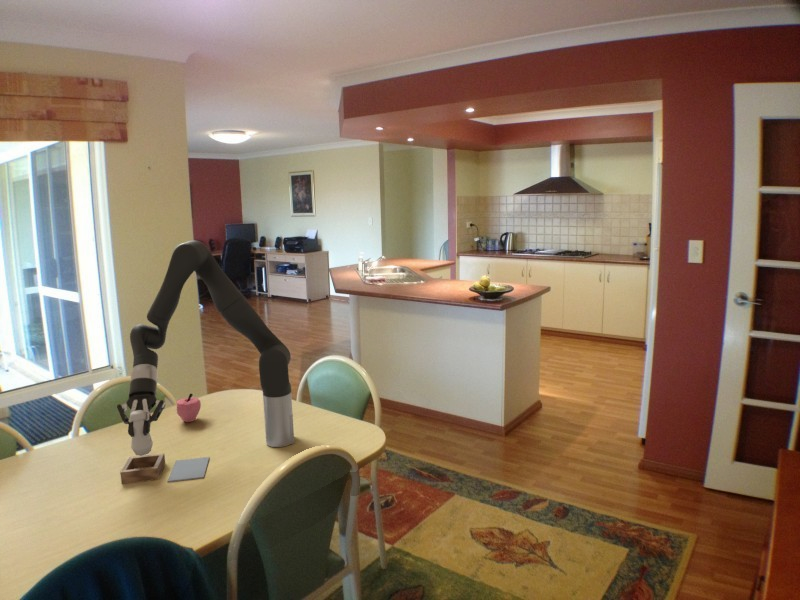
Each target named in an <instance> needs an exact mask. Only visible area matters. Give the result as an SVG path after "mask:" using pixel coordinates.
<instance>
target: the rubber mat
mask: <svg viewBox="0 0 800 600" xmlns="http://www.w3.org/2000/svg"><path fill="white" fill-rule="evenodd" d="M209 461H210V456H206V457H196V458H195V457H194V458H187V459H178V460H175V461H174V465H173V467H172V468H171V472H170V473H169V475H168V478H167V483H174V482H182V481H189V480H190V481H191V480H198V479H204V478H205V475H206V472H207V468H208V466H209V465H208V464H209Z"/></svg>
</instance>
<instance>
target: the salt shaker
mask: <svg viewBox="0 0 800 600" xmlns="http://www.w3.org/2000/svg"><path fill="white" fill-rule="evenodd" d="M129 417H130V419H131V421H133V433H134V437H131V444H130V445H131V446H130V449H131V450H132V451H133V453H134V454H135V456H143V455H149V453H150V452H151V451H152V447H153V445H154V444H153V443H154V442H153V440H152V436H151V434H150V432H149V433H148V434H147V435H146V436H144V434H143V427H144V421H145V418H146V412H145V411H144V410H136V411H133V412H132V413H131V414H130V413H129Z"/></svg>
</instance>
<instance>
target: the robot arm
mask: <svg viewBox="0 0 800 600" xmlns="http://www.w3.org/2000/svg"><path fill="white" fill-rule="evenodd" d="M209 249H210V248H208V246H206V244H204V243H203V242H201V241H199V240H197V239H196V240H193V239H192V240H188V241H186V242H183V243H180V244H178V245H177V246H176V247H175V248H174V250H173V251H172V253H171V258H170V260H169V264H168V267H167V269H166V273H165V276H164V278H163V282H162V284H161V286H160V288H159V291H158V292H157V294H156V296H155V299H154V300H153V302H152V303H151V306H150V307H149V309H148V311H147V314H146V320H147V321H149V323H151V324H153V325H154V326H151V325H147V324H144V323H143V324H142V323H139V324H136V325H134V326H133V327H132V329H131V330H130V333H129V340H130V345H131V351H132V356H133V361H132V362H133V364H132V370H131V375H130V382H129V391H128V399H126V402H125V403H122V404H120V403H119V404H117V405H116V408H117V411H118V412H119V415H120V419H121V420H122V422H123V423H124V424H125V425H128V427H127V434H128V435H129V436H130V437H131V438H132V437H134V433H133V421H131V419H130V416H129V418H128V416H127V413H126V412H127V411H128V409H127V408H129V409H130V412H129V415H130V414H131V413H132V412H133V411H136V410H144V411H145V412H146V418H145V421H144V427H143V434H144V436H146V435H147V434H148V433H150V432H151V424H152V423H153V422H157V421H158V419H159V418H160V416H161V415H162V412H163V411H164V409H165V407H166V403H165V401H164V400H163V399H161V400H159V399H157V397H156V396H157V387H158V385H157V384H158V363H159V356H158V354H157V352H156V351H155V350H158V349H160V348H161V349H162V347H163V346H164V344H166V343H165V342H166V337H167V331H168V326H169V325H170V322H171V319H172V317H173V315H174V313H175V311H176V309H177V307H178V306H179V302H180V298H181V295H182V290H183V287H184V286H185V283H187V280H188V279H189V278H190V277H191V275H192V274H193V273H194V272H195V273H196V274H197V276H198V277H199V278H200V279H201V280H202V281H203V283H204V284H205V285H206V287H207V289H208V292H209V295H210V296H211V300H212V302H213V304H214V308H216V310H217V311H218V313H219V314H220V315H221V317H222V318H223V319H224V320H225V321H226V323H227V324H228V325H229V326H230V327H231V328H233V330H235V331H236V332H238V333H239V334H241V335H243V336H244V337H245V338H246V339H248V340H249V341H250V342H251V343H252V344H253V346H254V347H255V348H256V349H257V351H258V353H259V354H260V356H259V359H258V371H259V372H258V373H259V381H260V382H259V383H260V387H261V390H262V401H263V402H262V403H263V414H264V429H265V430H264V431H265V443H266V445H267V446H269V447H271V448H282V447H286V446H289V445H292V444H295V431H294V413H293V401H292V400H293V399H292V397H293V396H292V384H291V382H290V376H289V375H290V374H289V364H290V362H291V359H292V358H291V353H290V349H289V348H288V347H287V346H286V345H285V344H284V342H283V341H281V340H280V338H278V336H276V334H274V332H273V331H272V330H270V328H269V327H268V326H267V325H266V323H265V322H264V321H263V319H262V318H261V316H260V315H259V313H257V311H256V310H255V308H253V306H252V305H251V303H250V302H249V301H248V299H247V298H246V297H245V296H244V294H243V293H242V292H241V291H240V289H239V288H238V287H237V286H236V285H235V284H234V282H233V281H232V280H231V279H230V277H228V275H227V274H226V273H225V272H224V270H223V269H222V268H221V266H220V265H219V263H218V261H217V260H216V258H215V257H214V256H213V254H212V252H211V251H210V250H209ZM155 406H156V407H155ZM154 407H155V409H154V411H153V412H152V413H151V411H152V409H153V408H154Z"/></svg>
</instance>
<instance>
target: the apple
mask: <svg viewBox="0 0 800 600" xmlns="http://www.w3.org/2000/svg"><path fill="white" fill-rule="evenodd" d="M201 406H202V405H201V400H200V399H199V398H198V397H193V393H189V395H188V397H184V398H181V399H179V400H176V414H177V415H178V416H179V417H180V418H181V420H182V422H186V423H191V422H193V421H195V420H196V419H197V417H198V415H199V413H200V410H201Z"/></svg>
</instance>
